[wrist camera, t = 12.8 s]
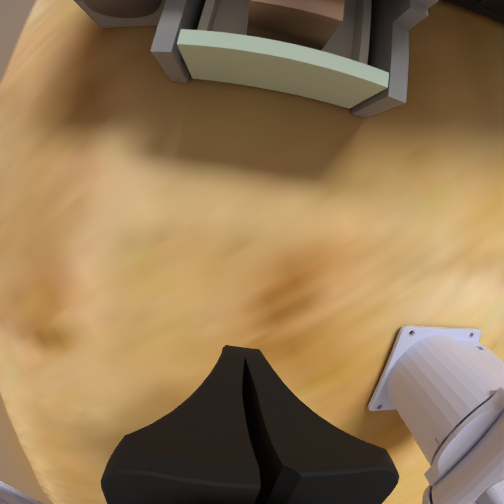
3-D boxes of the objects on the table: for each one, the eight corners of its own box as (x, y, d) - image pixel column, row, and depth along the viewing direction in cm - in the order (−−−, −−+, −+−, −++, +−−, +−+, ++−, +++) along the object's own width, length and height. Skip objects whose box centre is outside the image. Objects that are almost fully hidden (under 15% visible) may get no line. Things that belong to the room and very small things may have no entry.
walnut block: (322, 7, 14) (347, -36, 9) (315, 58, 15) (342, 21, 10) (257, -7, 14) (264, -55, 9) (245, 44, 14) (249, 0, 10)
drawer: (360, -6, 14) (390, -44, 9) (349, 108, 16) (387, 87, 11) (224, -35, 14) (222, -81, 9) (192, 78, 16) (176, 44, 11)
